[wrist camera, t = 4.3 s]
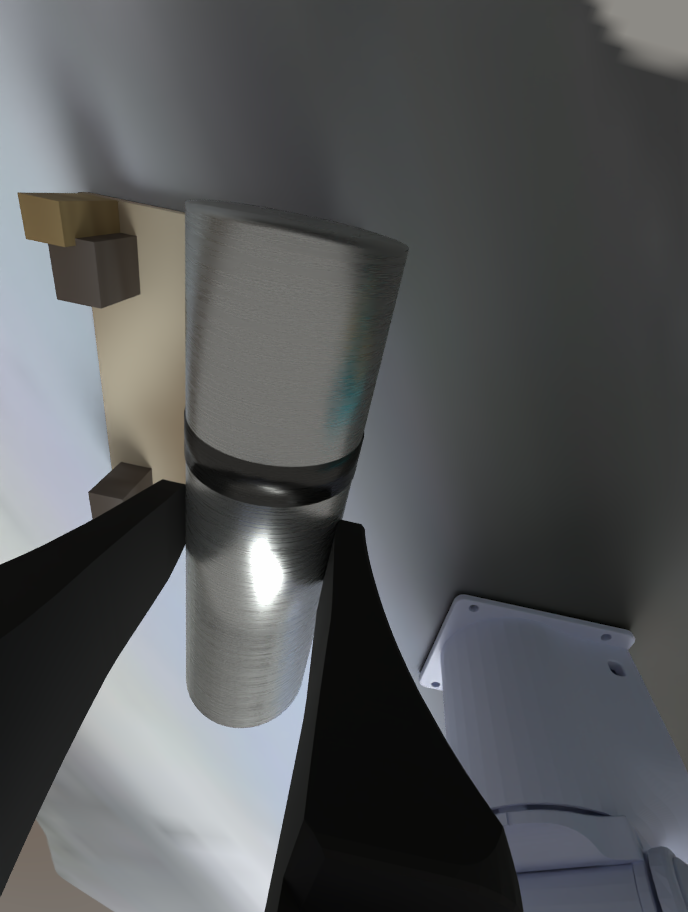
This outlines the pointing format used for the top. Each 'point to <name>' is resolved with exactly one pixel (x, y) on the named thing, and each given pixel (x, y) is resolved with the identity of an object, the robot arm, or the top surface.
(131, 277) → the collar board
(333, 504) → the tube
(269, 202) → the top surface
